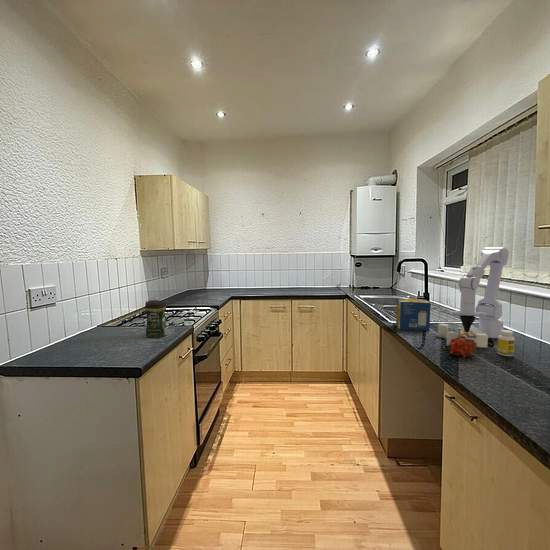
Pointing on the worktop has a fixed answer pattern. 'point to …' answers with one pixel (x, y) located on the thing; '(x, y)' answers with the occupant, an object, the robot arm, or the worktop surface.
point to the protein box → (413, 314)
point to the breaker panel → (476, 336)
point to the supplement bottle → (506, 343)
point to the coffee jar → (155, 319)
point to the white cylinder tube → (442, 330)
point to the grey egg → (451, 336)
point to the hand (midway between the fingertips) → (466, 331)
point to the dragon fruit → (462, 346)
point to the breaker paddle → (464, 333)
